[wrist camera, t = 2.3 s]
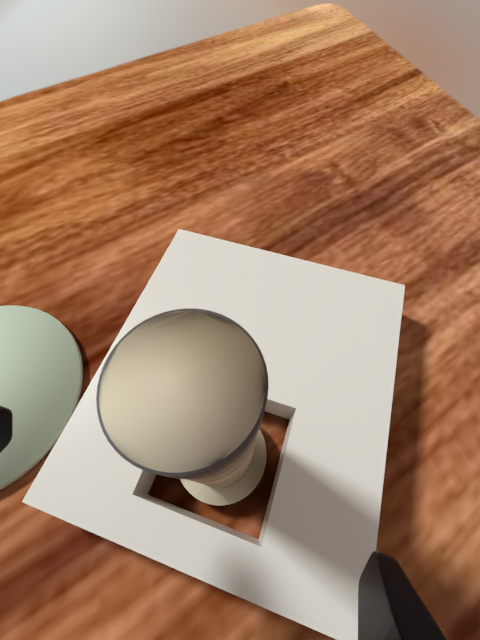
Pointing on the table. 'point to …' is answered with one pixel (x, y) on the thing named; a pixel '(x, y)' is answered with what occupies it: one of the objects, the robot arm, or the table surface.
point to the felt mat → (35, 385)
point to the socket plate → (283, 400)
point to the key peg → (188, 403)
